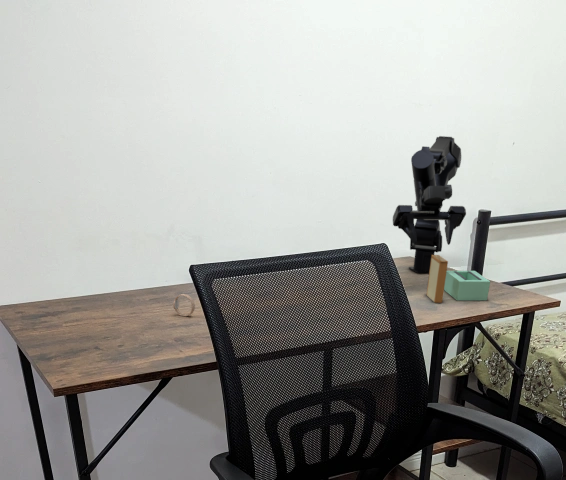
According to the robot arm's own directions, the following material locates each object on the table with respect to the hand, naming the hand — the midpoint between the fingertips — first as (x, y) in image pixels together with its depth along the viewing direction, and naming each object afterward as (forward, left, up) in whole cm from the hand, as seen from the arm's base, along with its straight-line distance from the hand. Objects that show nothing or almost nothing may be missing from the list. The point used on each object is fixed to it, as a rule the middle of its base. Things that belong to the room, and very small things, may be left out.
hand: (432, 243), depth 190 cm
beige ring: (+10, -69, -13) cm, 70 cm away
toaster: (+4, +9, -13) cm, 16 cm away
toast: (+7, -1, -13) cm, 14 cm away
